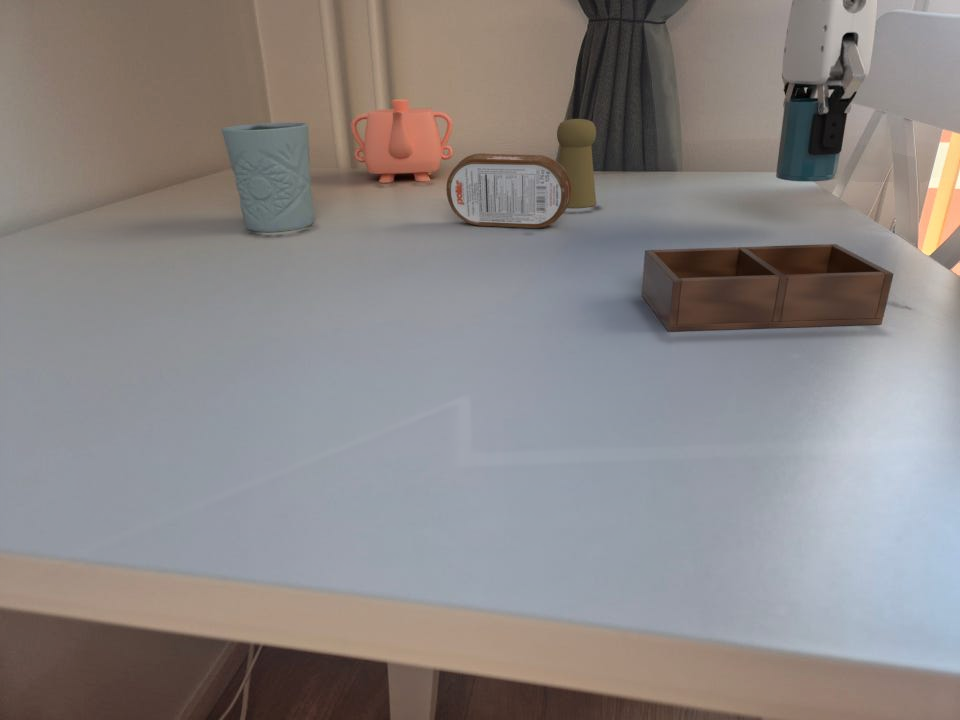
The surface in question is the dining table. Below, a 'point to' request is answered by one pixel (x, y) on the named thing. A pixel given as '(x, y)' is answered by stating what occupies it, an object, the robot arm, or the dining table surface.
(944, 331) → the dining table surface
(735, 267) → the divided wooden box
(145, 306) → the dining table surface
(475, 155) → the tin
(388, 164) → the teapot
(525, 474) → the dining table surface
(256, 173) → the drinking glass
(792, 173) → the cup
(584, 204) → the pepper mill
